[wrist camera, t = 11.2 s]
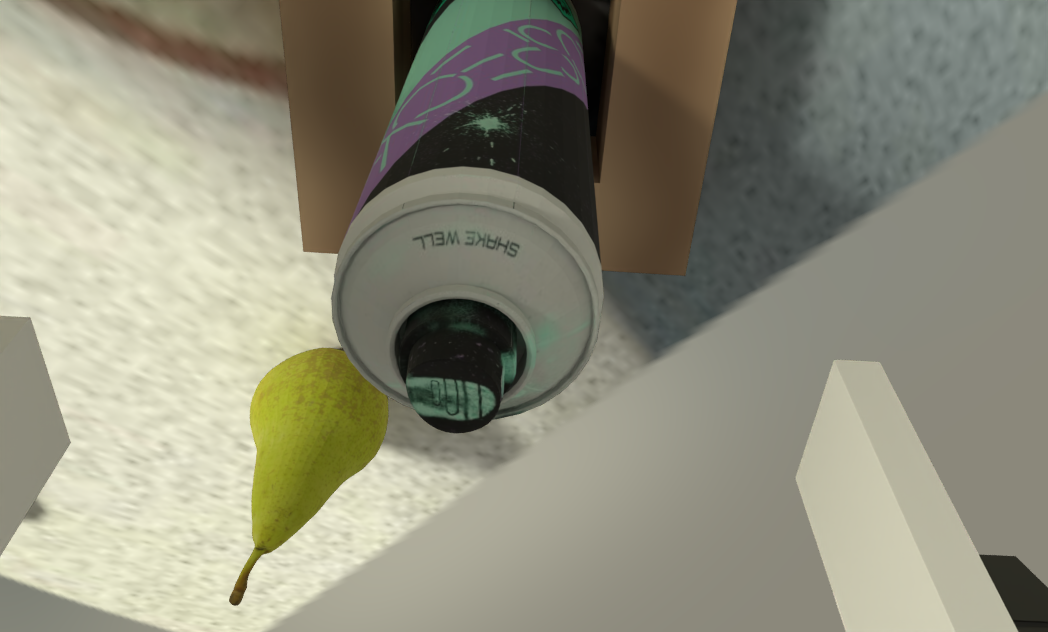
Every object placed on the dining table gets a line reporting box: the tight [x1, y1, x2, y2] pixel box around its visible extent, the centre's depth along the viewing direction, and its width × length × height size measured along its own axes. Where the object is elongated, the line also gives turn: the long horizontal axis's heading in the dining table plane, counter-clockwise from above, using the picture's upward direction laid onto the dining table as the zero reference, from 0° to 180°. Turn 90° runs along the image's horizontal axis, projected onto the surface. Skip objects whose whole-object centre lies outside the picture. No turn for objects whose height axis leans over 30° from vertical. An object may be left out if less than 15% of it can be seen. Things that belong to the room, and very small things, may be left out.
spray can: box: [331, 0, 604, 433], centre depth 24 cm, size 6×6×20 cm
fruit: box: [229, 348, 388, 605], centre depth 36 cm, size 6×6×12 cm
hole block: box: [279, 0, 737, 276], centre depth 30 cm, size 14×14×4 cm
